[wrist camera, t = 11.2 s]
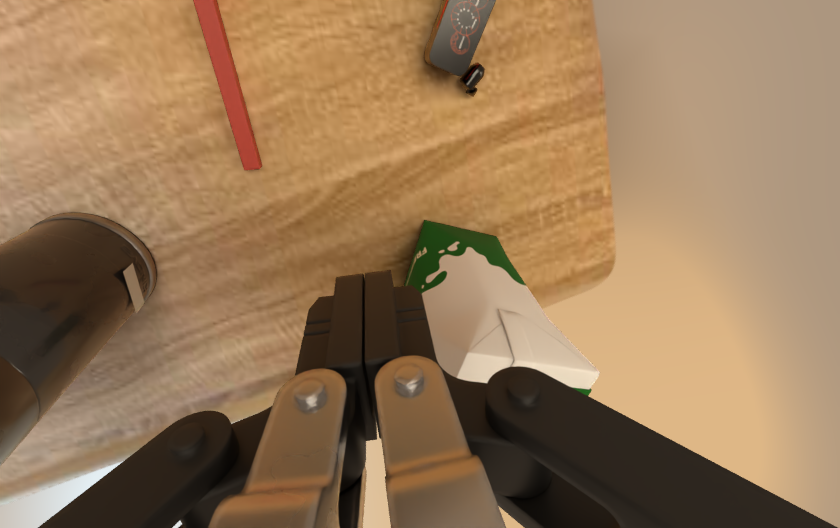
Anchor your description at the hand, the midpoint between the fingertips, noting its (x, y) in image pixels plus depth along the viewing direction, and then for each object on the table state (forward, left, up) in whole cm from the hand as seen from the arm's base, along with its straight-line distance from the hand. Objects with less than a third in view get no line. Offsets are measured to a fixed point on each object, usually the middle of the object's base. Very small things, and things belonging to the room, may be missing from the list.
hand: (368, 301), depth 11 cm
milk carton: (+6, -12, -23) cm, 27 cm away
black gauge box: (+8, +6, -23) cm, 25 cm away
